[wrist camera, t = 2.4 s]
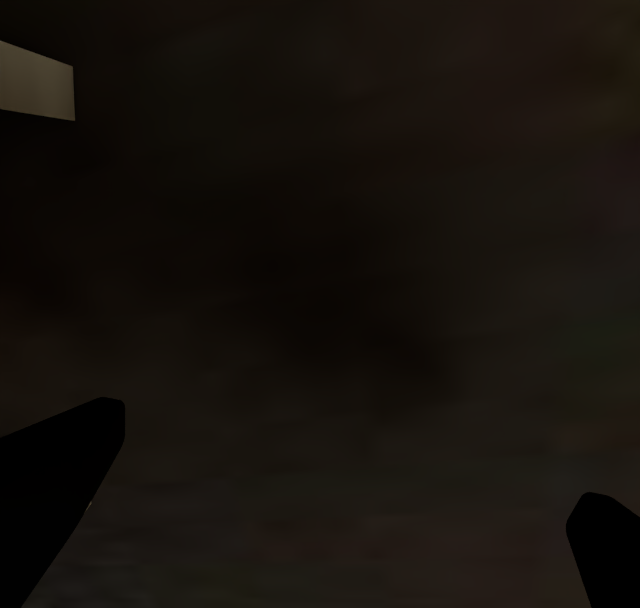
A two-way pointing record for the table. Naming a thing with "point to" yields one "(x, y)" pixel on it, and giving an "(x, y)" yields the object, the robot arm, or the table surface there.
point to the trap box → (35, 85)
